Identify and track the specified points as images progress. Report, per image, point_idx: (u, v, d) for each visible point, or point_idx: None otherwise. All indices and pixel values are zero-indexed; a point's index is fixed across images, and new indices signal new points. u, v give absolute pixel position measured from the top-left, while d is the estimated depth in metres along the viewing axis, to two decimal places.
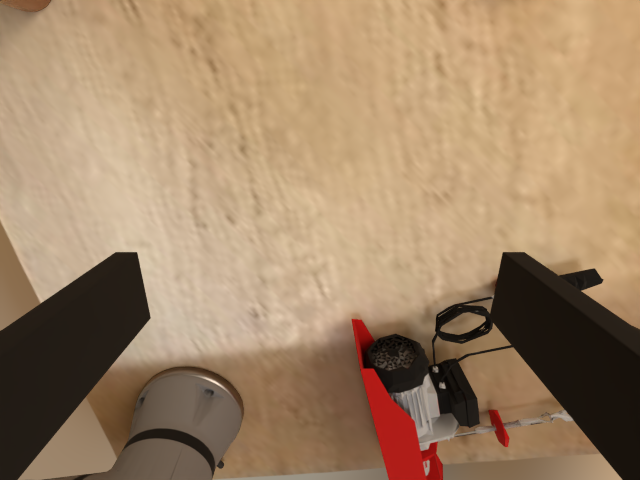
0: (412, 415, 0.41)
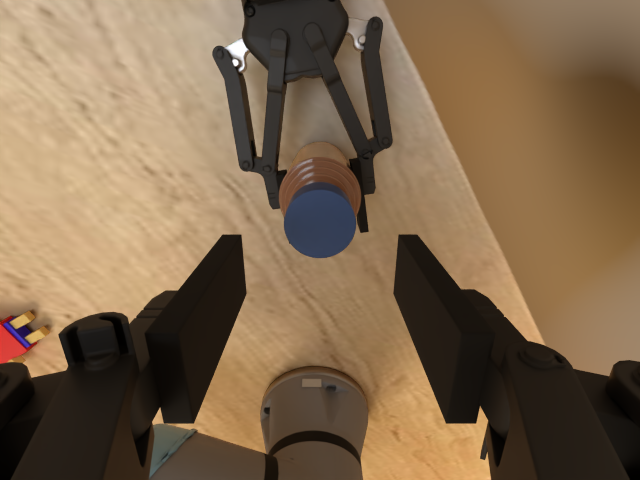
0: None
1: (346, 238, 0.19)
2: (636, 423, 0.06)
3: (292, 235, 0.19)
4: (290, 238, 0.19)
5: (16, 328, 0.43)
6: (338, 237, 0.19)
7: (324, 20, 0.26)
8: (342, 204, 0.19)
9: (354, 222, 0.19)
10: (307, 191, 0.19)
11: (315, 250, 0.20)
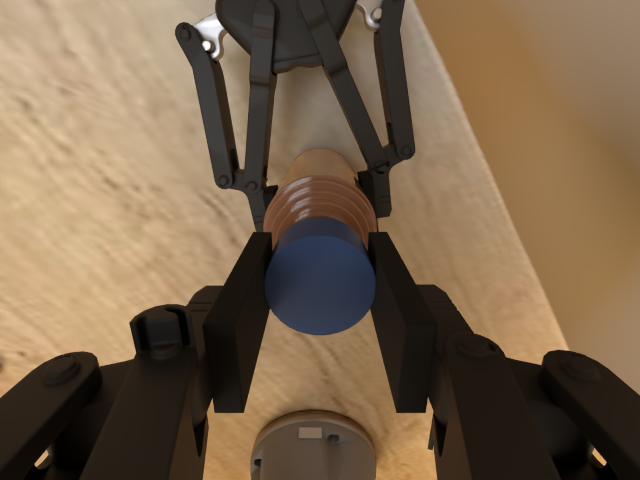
0: None
1: (361, 307, 0.12)
2: (559, 409, 0.06)
3: (277, 303, 0.12)
4: (273, 307, 0.12)
5: None
6: (348, 306, 0.12)
7: None
8: (356, 257, 0.12)
9: (374, 284, 0.12)
10: (300, 237, 0.12)
11: (313, 324, 0.13)
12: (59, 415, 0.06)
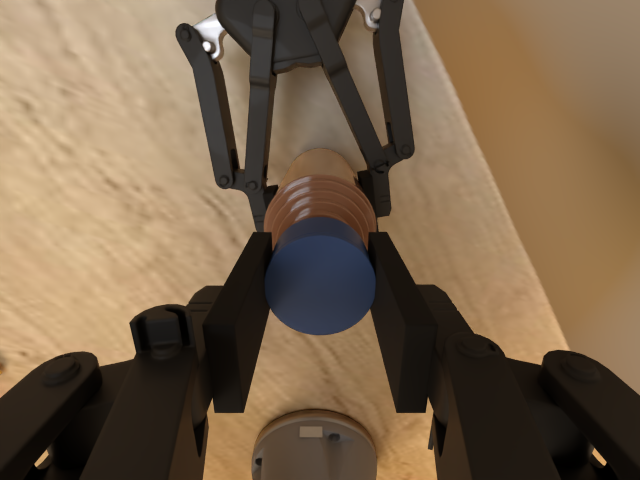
0: None
1: (323, 244, 0.12)
2: (559, 409, 0.06)
3: (352, 316, 0.13)
4: (357, 318, 0.13)
5: None
6: (327, 256, 0.12)
7: None
8: (274, 271, 0.12)
9: (292, 244, 0.12)
10: (281, 319, 0.13)
11: (362, 278, 0.12)
12: (59, 415, 0.06)
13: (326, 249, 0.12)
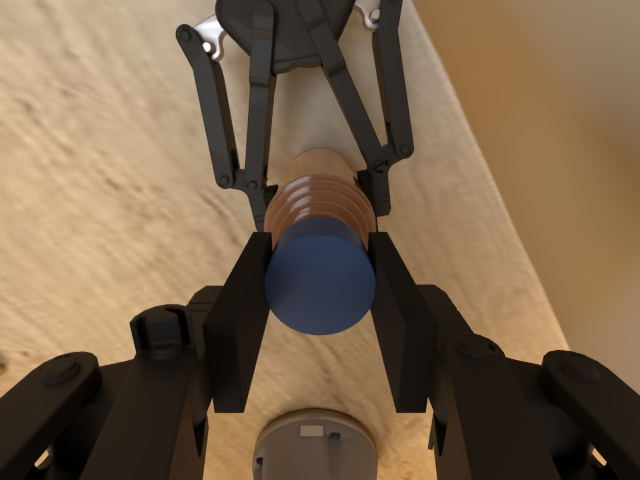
0: None
1: (275, 302, 0.12)
2: (559, 409, 0.06)
3: (337, 247, 0.12)
4: (337, 242, 0.12)
5: None
6: (285, 295, 0.12)
7: None
8: (320, 329, 0.13)
9: (288, 324, 0.13)
10: (369, 305, 0.13)
11: (292, 256, 0.12)
12: (59, 415, 0.06)
13: (279, 298, 0.12)
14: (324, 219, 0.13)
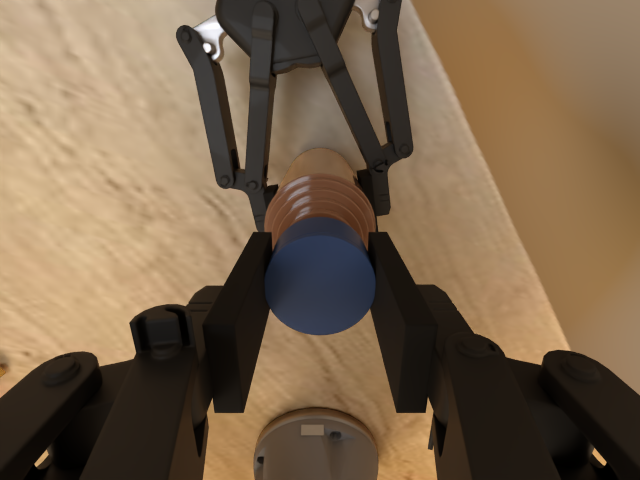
0: None
1: (351, 317, 0.13)
2: (559, 409, 0.06)
3: (273, 290, 0.12)
4: (268, 293, 0.12)
5: None
6: (340, 313, 0.13)
7: None
8: (365, 270, 0.12)
9: (371, 300, 0.12)
10: (319, 234, 0.12)
11: (300, 320, 0.13)
12: (59, 415, 0.06)
13: (345, 316, 0.13)
14: None
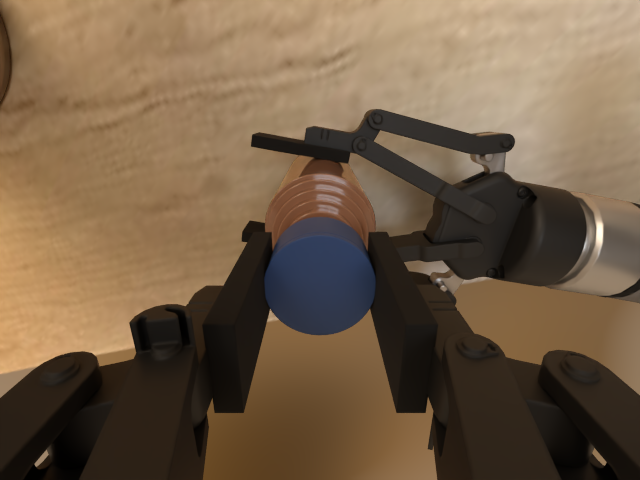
0: None
1: (351, 317, 0.13)
2: (559, 408, 0.06)
3: (273, 290, 0.12)
4: (268, 292, 0.12)
5: None
6: (340, 313, 0.13)
7: (476, 260, 0.25)
8: (365, 270, 0.12)
9: (371, 300, 0.12)
10: (319, 234, 0.12)
11: (300, 320, 0.13)
12: (59, 415, 0.06)
13: (345, 316, 0.13)
14: None
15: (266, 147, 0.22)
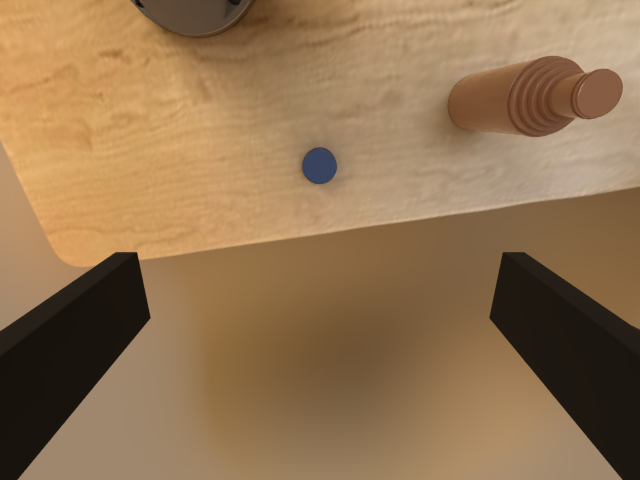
0: None
1: (329, 177, 0.41)
2: None
3: (305, 167, 0.40)
4: (303, 168, 0.40)
5: None
6: (325, 175, 0.41)
7: None
8: (332, 160, 0.40)
9: (335, 170, 0.40)
10: (319, 149, 0.40)
11: (313, 178, 0.41)
12: None
13: (327, 176, 0.41)
14: None
15: None
